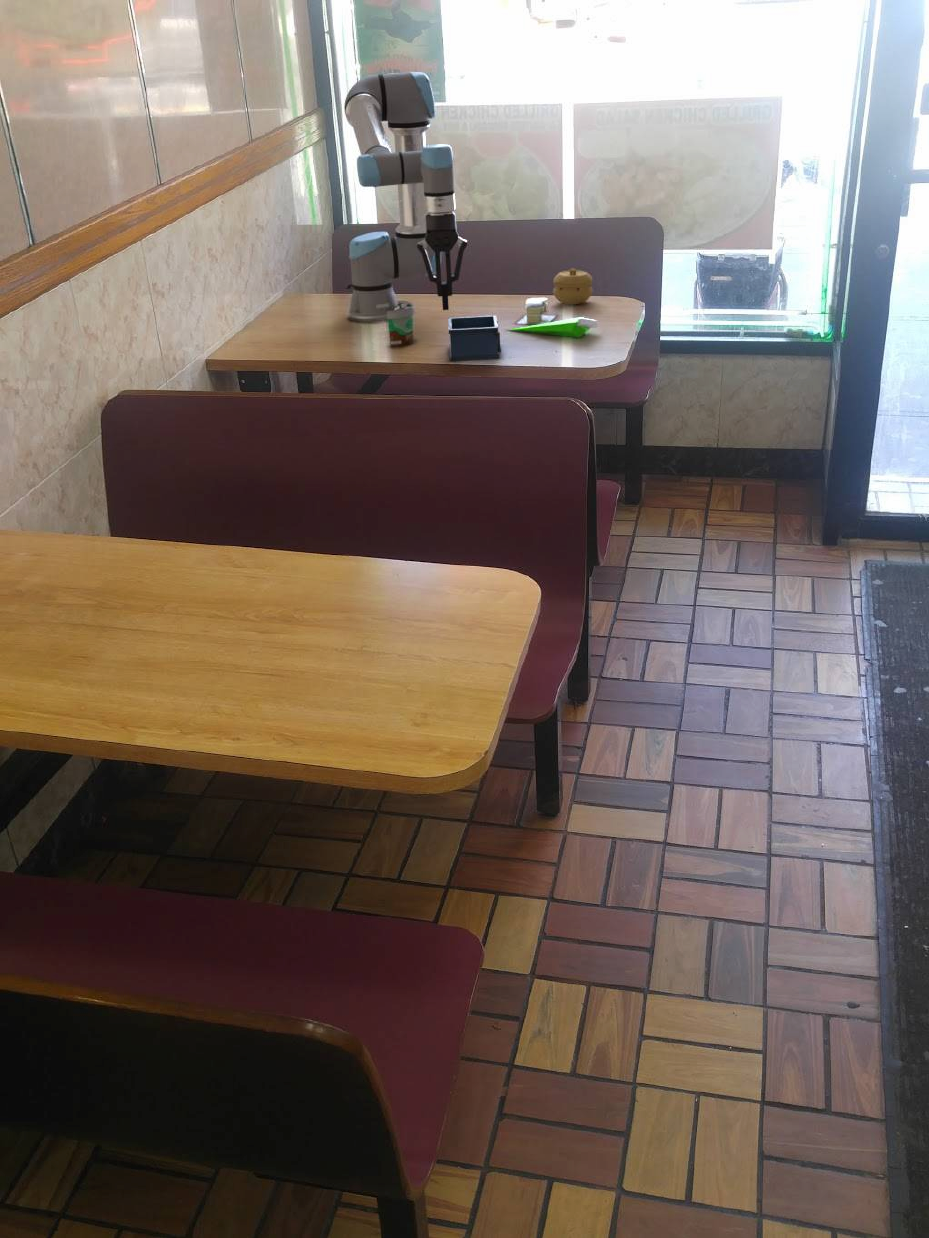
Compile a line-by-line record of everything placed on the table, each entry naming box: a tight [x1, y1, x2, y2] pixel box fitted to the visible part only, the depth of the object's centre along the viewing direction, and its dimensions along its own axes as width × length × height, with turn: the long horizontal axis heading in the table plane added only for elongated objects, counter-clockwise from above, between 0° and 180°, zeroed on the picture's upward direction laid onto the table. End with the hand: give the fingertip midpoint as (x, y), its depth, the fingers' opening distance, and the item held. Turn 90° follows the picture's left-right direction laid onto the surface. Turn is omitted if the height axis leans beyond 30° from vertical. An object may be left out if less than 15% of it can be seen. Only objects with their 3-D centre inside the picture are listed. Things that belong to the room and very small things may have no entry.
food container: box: [387, 300, 417, 348], centre depth 306 cm, size 12×6×10 cm, turn 168°
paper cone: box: [509, 316, 599, 339], centre depth 308 cm, size 11×5×25 cm
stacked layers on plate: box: [516, 297, 557, 325], centre depth 321 cm, size 10×9×6 cm
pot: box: [552, 268, 594, 305], centre depth 336 cm, size 12×12×10 cm
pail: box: [447, 314, 502, 362], centre depth 294 cm, size 13×8×13 cm
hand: (445, 308), depth 290 cm, fingers closed
